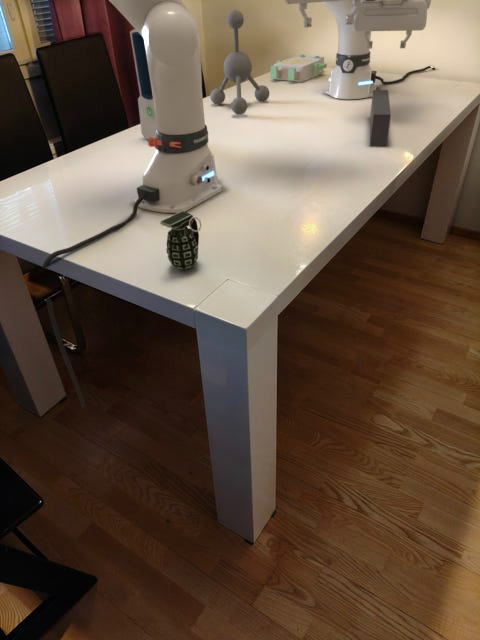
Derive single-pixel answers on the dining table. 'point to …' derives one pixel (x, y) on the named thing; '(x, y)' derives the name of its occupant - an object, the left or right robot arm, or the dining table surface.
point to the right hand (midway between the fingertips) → (385, 48)
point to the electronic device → (144, 87)
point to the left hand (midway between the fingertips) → (328, 25)
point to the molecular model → (238, 71)
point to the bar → (379, 118)
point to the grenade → (182, 240)
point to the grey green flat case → (298, 68)
